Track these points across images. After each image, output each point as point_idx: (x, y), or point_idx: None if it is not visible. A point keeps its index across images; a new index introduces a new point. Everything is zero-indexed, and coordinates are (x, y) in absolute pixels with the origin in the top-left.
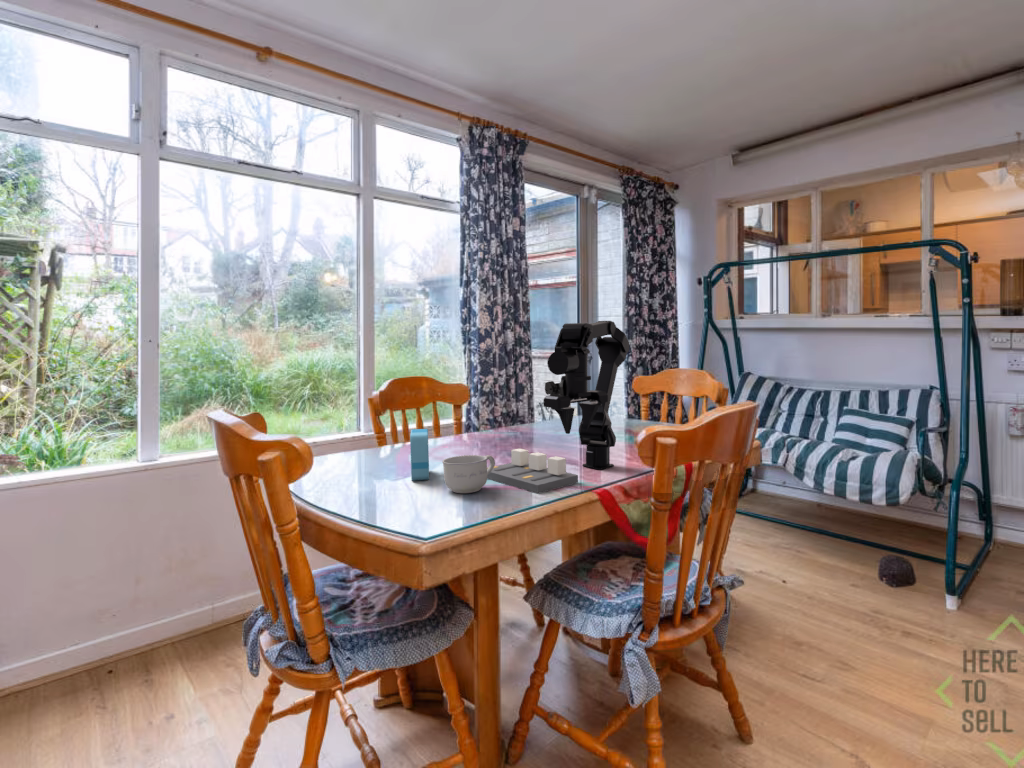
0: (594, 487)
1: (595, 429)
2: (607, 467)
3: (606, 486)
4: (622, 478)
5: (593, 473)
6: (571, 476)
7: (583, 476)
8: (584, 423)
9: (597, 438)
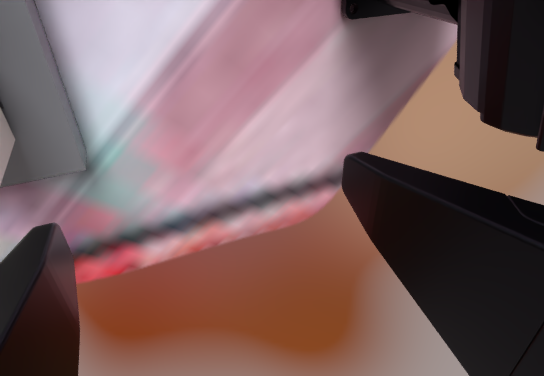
0: (112, 235)
1: (513, 77)
2: (396, 11)
3: (165, 240)
4: (297, 179)
5: (275, 45)
6: (30, 178)
7: (193, 62)
8: (389, 208)
9: (460, 58)
